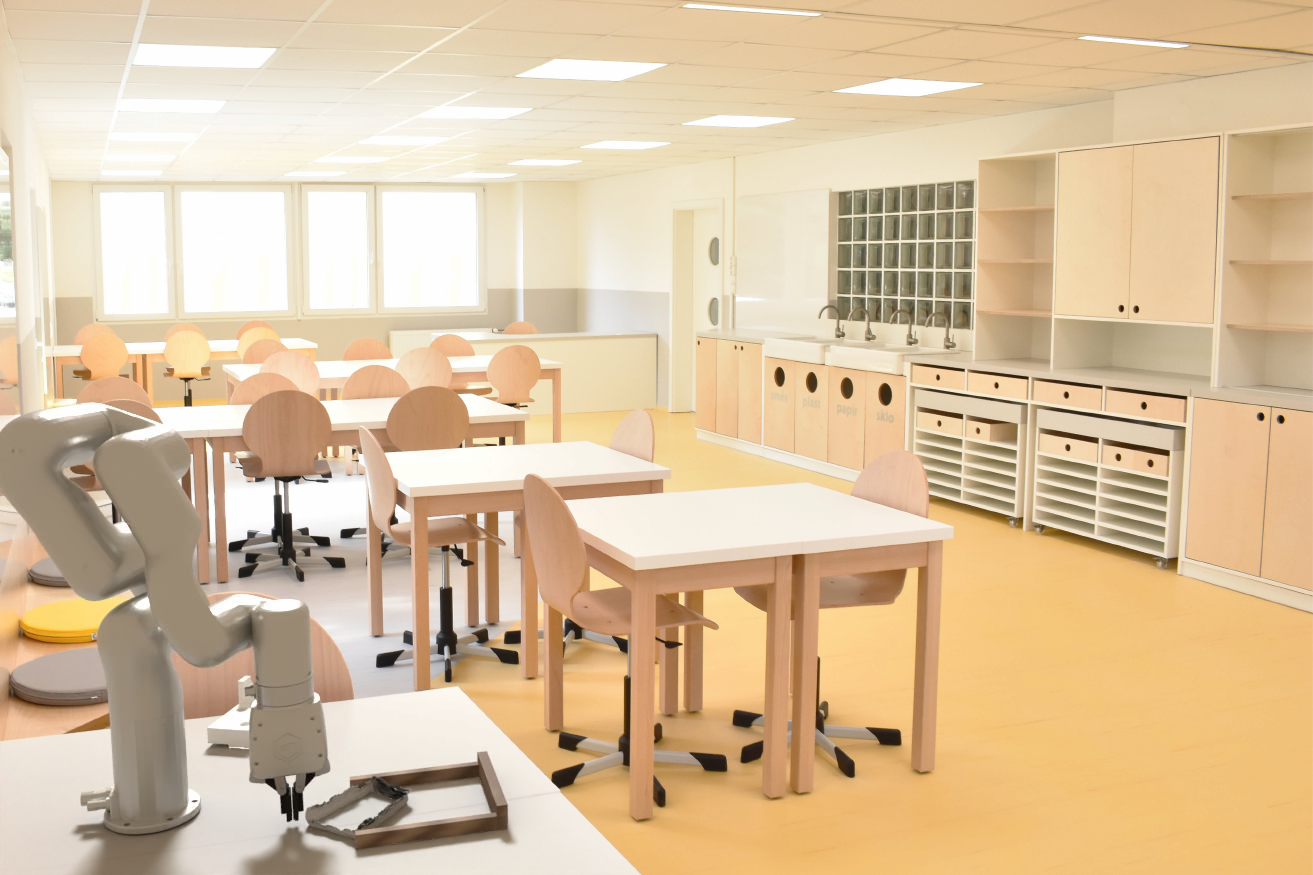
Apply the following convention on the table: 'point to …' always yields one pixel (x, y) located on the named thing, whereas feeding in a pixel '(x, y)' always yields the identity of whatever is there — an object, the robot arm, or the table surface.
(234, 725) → the bracket
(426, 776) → the stop bay
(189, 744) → the table surface
